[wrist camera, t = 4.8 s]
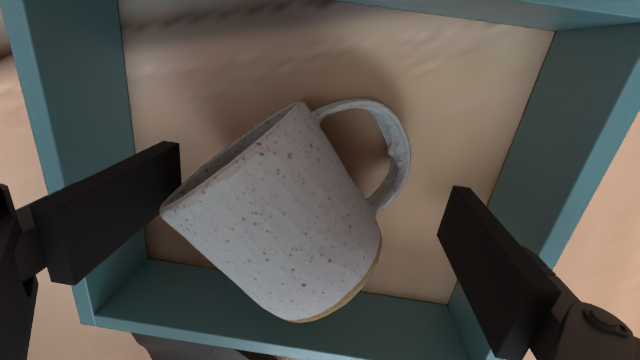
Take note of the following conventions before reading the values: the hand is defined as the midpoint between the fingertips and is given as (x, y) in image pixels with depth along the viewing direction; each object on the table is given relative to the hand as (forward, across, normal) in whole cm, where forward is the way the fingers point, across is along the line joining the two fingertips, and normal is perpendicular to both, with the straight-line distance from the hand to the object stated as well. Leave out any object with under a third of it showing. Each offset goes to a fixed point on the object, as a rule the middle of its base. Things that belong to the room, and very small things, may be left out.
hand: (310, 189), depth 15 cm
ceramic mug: (+3, 0, 0) cm, 3 cm away
